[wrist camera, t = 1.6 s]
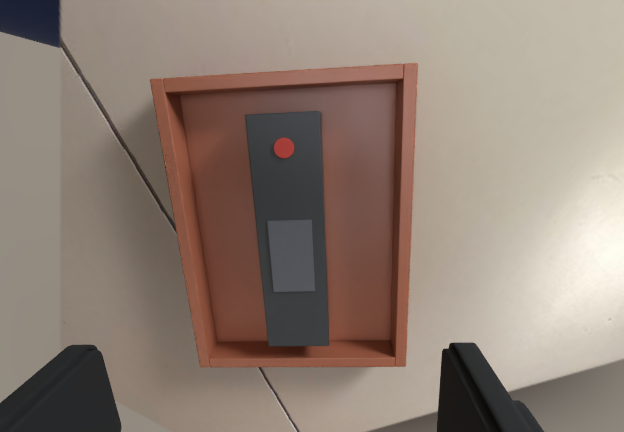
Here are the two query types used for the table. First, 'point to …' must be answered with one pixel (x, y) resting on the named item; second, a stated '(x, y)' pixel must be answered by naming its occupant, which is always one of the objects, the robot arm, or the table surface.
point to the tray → (337, 199)
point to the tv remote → (290, 225)
